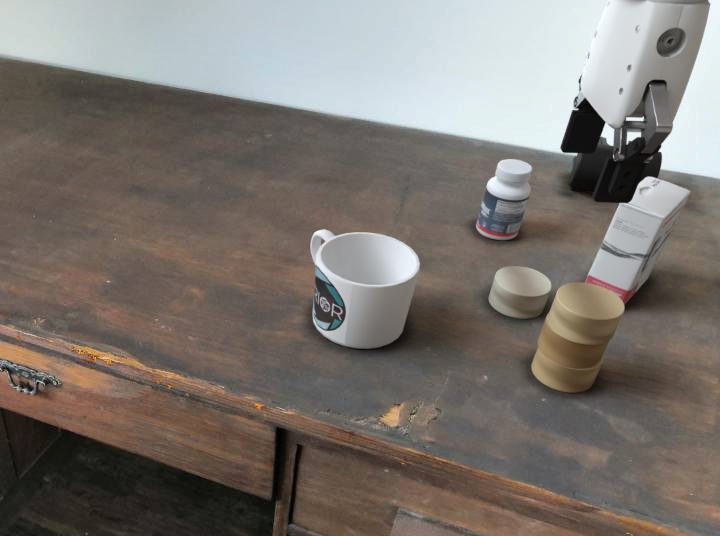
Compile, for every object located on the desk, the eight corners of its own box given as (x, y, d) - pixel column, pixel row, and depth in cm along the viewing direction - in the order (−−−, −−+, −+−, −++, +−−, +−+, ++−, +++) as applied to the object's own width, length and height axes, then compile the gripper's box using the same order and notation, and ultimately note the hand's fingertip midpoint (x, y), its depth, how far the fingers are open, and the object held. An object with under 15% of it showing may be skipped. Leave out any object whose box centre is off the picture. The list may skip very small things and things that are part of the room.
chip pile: (583, 355, 80) (603, 307, 76) (601, 394, 76) (623, 346, 72) (522, 351, 81) (539, 304, 77) (536, 391, 76) (555, 343, 72)
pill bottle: (474, 218, 101) (491, 154, 96) (515, 222, 101) (535, 158, 95) (476, 238, 98) (494, 173, 92) (519, 243, 97) (540, 177, 91)
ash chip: (536, 289, 89) (544, 267, 87) (549, 320, 85) (558, 297, 83) (483, 286, 90) (490, 264, 88) (494, 317, 85) (501, 294, 83)
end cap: (566, 198, 106) (582, 151, 101) (564, 175, 111) (580, 129, 106) (645, 209, 104) (665, 162, 99) (639, 185, 109) (658, 139, 104)
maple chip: (602, 309, 76) (613, 283, 74) (622, 347, 72) (634, 321, 70) (540, 305, 77) (549, 280, 75) (556, 343, 72) (566, 317, 70)
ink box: (623, 311, 86) (665, 216, 78) (578, 294, 89) (615, 200, 81) (650, 280, 91) (693, 187, 83) (608, 264, 93) (645, 172, 86)
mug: (427, 328, 83) (442, 265, 78) (355, 364, 79) (367, 299, 73) (342, 272, 92) (350, 211, 86) (272, 301, 87) (277, 239, 82)
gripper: (772, 3, 53) (671, 224, 64) (673, -56, 66) (603, 136, 77) (661, 1, 53) (580, 221, 65) (583, -58, 66) (527, 134, 78)
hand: (592, 175), depth 71 cm, fingers open, 9 cm apart
